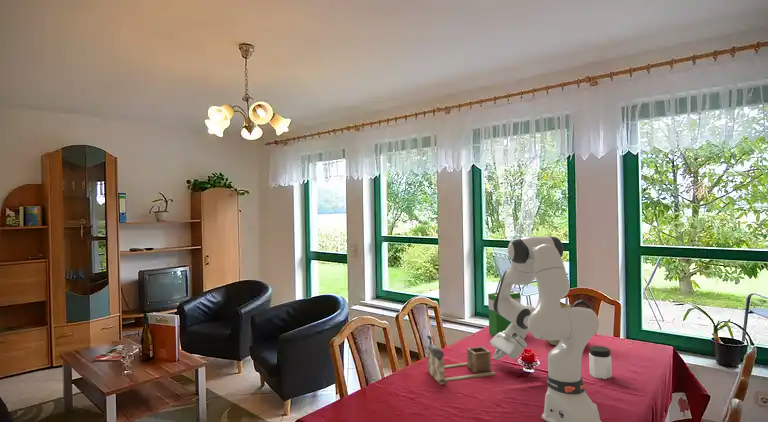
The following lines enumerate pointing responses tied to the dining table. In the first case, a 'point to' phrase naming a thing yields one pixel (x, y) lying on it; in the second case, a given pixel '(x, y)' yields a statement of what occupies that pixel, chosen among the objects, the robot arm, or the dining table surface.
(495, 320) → the green cereal box
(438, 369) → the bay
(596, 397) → the dining table surface
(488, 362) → the crate
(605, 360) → the jar
